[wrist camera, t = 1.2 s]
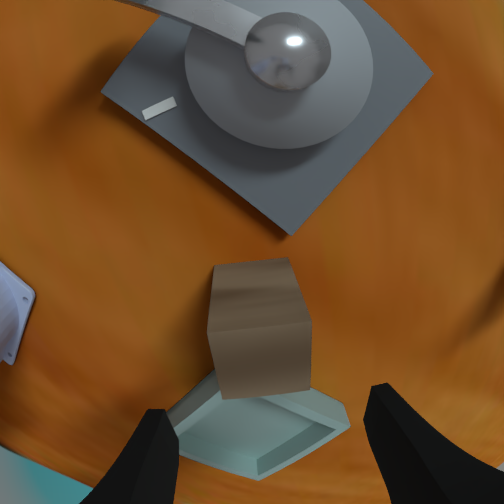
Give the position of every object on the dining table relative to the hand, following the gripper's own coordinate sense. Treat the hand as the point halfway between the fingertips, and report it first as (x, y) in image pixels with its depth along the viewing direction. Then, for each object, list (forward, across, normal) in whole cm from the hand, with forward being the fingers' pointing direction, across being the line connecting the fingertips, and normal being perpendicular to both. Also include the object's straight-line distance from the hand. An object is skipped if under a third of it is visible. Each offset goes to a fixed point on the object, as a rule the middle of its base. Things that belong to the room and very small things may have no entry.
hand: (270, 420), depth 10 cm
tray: (+9, +2, +11) cm, 14 cm away
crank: (+6, +1, -14) cm, 16 cm away
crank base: (+9, -2, -12) cm, 15 cm away
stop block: (+9, 0, 0) cm, 9 cm away
